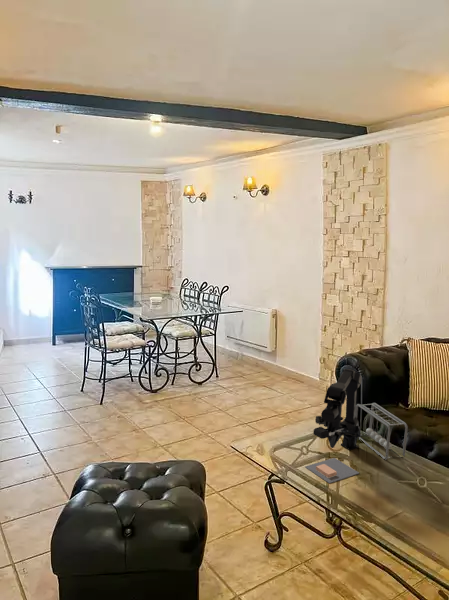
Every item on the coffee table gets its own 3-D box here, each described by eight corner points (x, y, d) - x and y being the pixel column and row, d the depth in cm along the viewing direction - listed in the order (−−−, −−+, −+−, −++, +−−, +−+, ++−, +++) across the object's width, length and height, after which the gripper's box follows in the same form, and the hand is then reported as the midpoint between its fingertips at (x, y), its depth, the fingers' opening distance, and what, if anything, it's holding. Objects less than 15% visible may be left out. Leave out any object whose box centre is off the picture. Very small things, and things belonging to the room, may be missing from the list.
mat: (334, 458, 244) (334, 457, 244) (359, 473, 230) (359, 472, 230) (304, 467, 234) (305, 466, 234) (329, 483, 221) (329, 482, 221)
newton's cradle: (353, 434, 271) (355, 402, 268) (370, 432, 274) (373, 401, 271) (385, 461, 243) (389, 426, 240) (405, 459, 246) (408, 424, 242)
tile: (324, 463, 234) (316, 466, 231) (336, 471, 227) (328, 474, 224) (324, 467, 234) (315, 470, 231) (336, 475, 227) (328, 478, 225)
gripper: (337, 404, 237) (334, 436, 240) (306, 411, 228) (303, 444, 230) (355, 413, 228) (352, 445, 231) (323, 420, 218) (320, 455, 221)
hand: (332, 447), depth 228 cm, fingers closed
